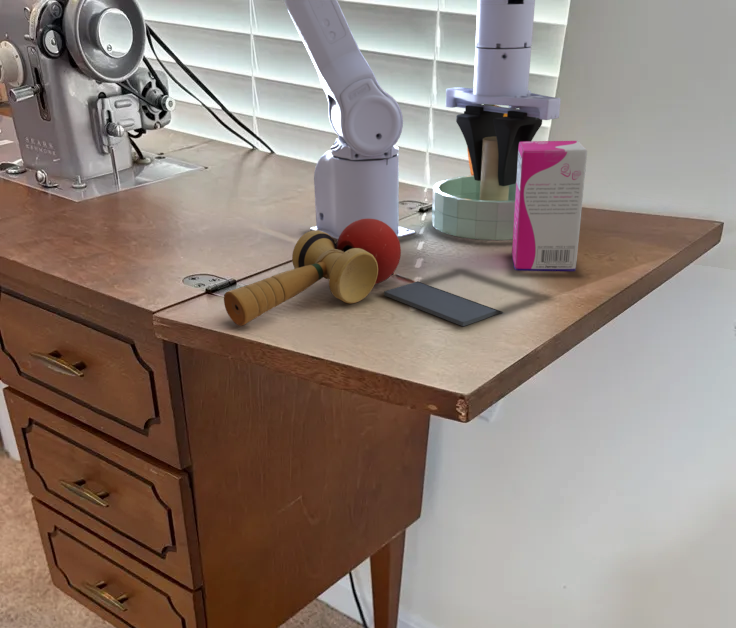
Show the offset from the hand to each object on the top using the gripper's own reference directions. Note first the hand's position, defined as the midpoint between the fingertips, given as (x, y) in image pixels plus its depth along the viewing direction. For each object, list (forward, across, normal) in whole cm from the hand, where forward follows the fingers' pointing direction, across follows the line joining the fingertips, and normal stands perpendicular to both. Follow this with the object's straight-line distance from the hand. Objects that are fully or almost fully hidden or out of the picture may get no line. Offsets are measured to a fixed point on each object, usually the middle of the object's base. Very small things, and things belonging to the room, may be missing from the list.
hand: (495, 181), depth 88 cm
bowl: (+5, 0, 0) cm, 5 cm away
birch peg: (+3, 0, 0) cm, 3 cm away
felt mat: (+5, -14, +19) cm, 24 cm away
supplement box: (+5, -13, +7) cm, 16 cm away
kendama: (+5, -6, +29) cm, 30 cm away
